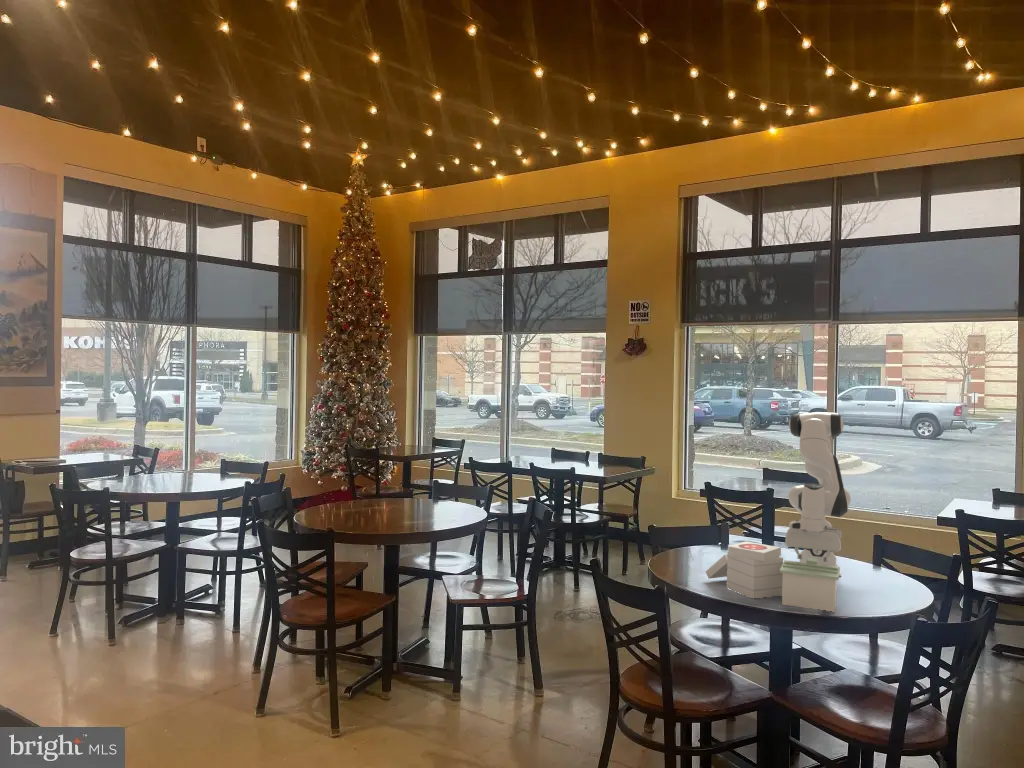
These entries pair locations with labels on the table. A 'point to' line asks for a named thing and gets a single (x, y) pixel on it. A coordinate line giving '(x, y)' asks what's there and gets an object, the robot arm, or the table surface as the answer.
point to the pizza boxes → (751, 569)
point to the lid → (810, 569)
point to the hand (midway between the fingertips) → (812, 560)
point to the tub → (809, 592)
